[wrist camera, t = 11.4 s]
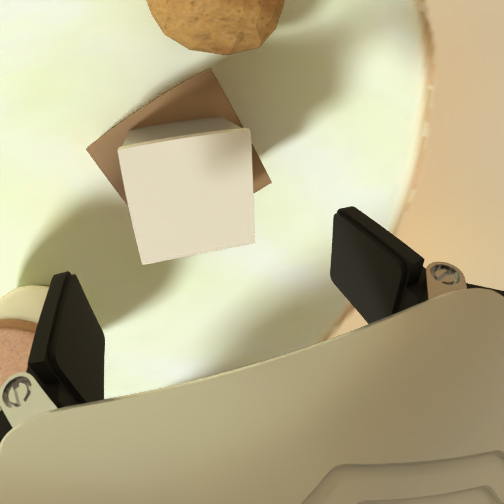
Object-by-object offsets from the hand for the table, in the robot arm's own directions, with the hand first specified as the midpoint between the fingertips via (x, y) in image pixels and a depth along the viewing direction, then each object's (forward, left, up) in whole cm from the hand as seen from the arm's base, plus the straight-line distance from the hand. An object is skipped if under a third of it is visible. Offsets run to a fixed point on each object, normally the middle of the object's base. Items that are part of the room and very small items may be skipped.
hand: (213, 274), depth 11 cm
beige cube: (0, 0, -12) cm, 12 cm away
